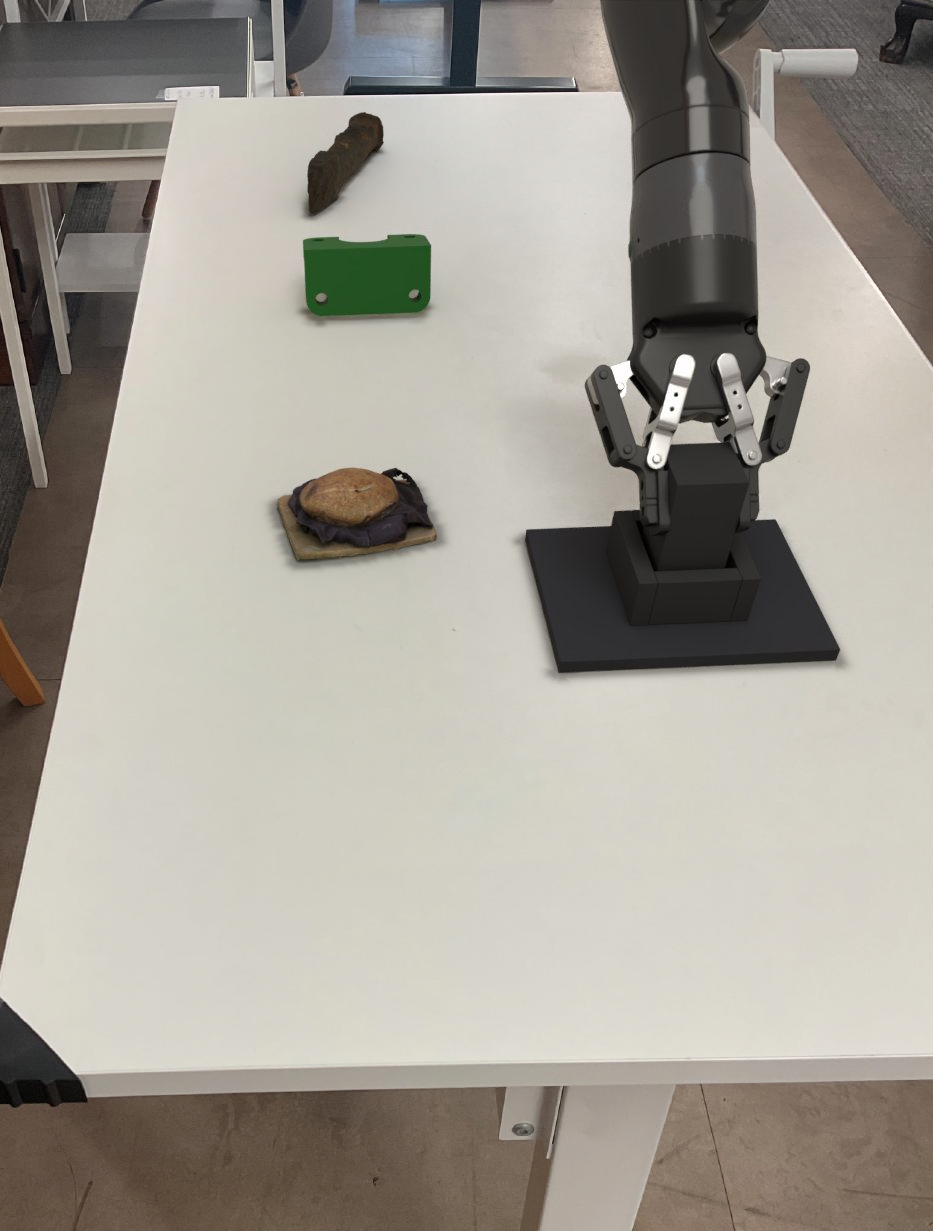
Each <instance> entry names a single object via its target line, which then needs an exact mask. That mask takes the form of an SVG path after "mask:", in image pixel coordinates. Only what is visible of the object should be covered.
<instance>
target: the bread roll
mask: <svg viewBox="0 0 933 1231" xmlns="http://www.w3.org/2000/svg"><path fill="white" fill-rule="evenodd" d="M398 477H400V478H401V479H396V478H398ZM276 508H277V509H278V510H279V514H280V518H281V520H282V524H283V525H284V528H285V530H286V535H287V537H288V540H289V543H290V546H291V548H292V550H293V553H294V557H295V558H296V560H297V561H299V560H309V559H310V560H312V559H313V560H317V559H319V560H321V559H329V558H332V559H333V558H337V557H339V559H341V558H342V557H347V556H349V557H353V556H358V554H359V555H364V556H365V555H367V554H371V553H379V552H382V551H389V550H394V551H395V552H396V551H398V550H399V549H400V548H403V547H410V546H412V545H425V543H430V542H433V541H437V538H438V534H437V530H436V528H435V525H434V524H433V522H432V520H431V518H430V516H429V514H428V504H427V503H426V502H425V499H424V497H423V494H422V492H421V489H420V488H419V486H418V484H417V483H416V481H415V480H414V478H413V477H412V476H411V475H410V474H409V473H407V472H404V471H403V470H401V469H399V468H397V467H393V468H388V469H386V470H383V471H382V472H381V473H380V472H377V471H373V470H370V469H367V468H361V467H360V468H359V467H343V468H339V469H336V470H332V471H329V472H328V473H325V474H323V475H321V476H319V477H318V478H313V479H310V480H307V481H306V482H304V483H301V485H298V486H296V487H295V488H293V489H292V492H291V494H284V495H282V496H280V497H279V498H277V502H276Z"/></svg>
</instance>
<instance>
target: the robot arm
mask: <svg viewBox="0 0 933 1231" xmlns="http://www.w3.org/2000/svg"><path fill="white" fill-rule="evenodd" d="M599 2H600V11H601V17H602V23H603V27H604V32H605V36H606V40H607V45H608V48H609V52H610V56H611V59H612V62H613V67H614V71H615V74H616V77H617V81H618V85H619V89H620V92H621V95H622V98H623V101H624V103H625V106H626V109H627V112H628V116H629V119H630V142H631V143H630V149H631V150H630V154H631V185H632V186H631V187H632V188H631V195H632V196H631V206H630V213H629V229H628V230H629V242H628V244H627V245H628V246H627V248H628V249H627V252H628V253H627V256H628V259H629V262H630V263H629V265H630V266H629V267H630V295H631V296H630V298H631V300H630V301H631V330H632V347H631V350H630V353H629V354H628V357H627V358H626V361H623V362H620V363H618V364H614V365H612V366H609V365H607V364H600V365H597V366H596V368H595V369H594V370H593V371H592V372H591V373H590V375H589V376H588V377H587V378H586V380H585V382H584V390H585V393H586V396H587V401H589V405H590V408H591V412H592V415H593V418H594V421H595V425H596V428H597V431H598V433H599V436H600V439H601V442H602V446H603V448H604V453H605V455H606V459H607V461H608V464H609V465H610V466H611V467H613V468H616V469H617V468H623V469H626V470H629V471H631V472H633V473H634V474H635V475H636V476H637V479H638V495H639V496H638V503H639V504H638V505H639V510H640V520H641V523H642V525H643V527H649V532H650V535H651V536H662V535H664V534H666V533H668V532H669V531H670V526H671V521H670V503H669V471H664V465H665V463H666V460H667V456H668V453H669V449H670V445H671V444H672V442H673V438H674V435H675V433H676V431H677V429H678V426H679V425H680V424H683V423H687V422H690V421H694V422H698V423H703V424H711V426H712V429H713V432H714V436H715V439H717V441H718V442H719V443H722V442H730V443H731V445H732V447H733V449H734V451H735V453H736V455H737V457H738V459H739V461H740V463H741V466H742V468H743V470H744V472H745V474H746V476H747V478H748V480H749V482H750V483H749V486H748V490H747V493H746V497H745V500H744V503H743V507H742V510H741V514H740V517H739V520H738V524H737V527H736V531H735V533H741V532H744V531H746V530H748V529H749V528H750V525H751V521H754V520H758V516H759V513H760V478H759V476H760V475H759V474H760V473H759V470H760V468H761V466H762V465H763V464H765V463H769V462H772V461H773V460H775V459H776V458H778V457H779V456H782V455H784V454H786V453H787V452H788V451H789V449H790V448H791V444H792V440H793V438H794V433H795V428H796V425H797V422H798V418H799V414H800V411H801V407H802V402H803V398H804V396H805V391H806V387H807V384H808V378H809V375H810V372H811V365H810V363H809V361H808V360H807V359H806V358H801V357H800V358H796V359H794V360H793V361H788V360H785V359H780V358H776V357H772V356H768V355H767V352H766V349H765V346H764V345H763V343H762V342H761V339H760V335H759V283H758V282H759V280H758V245H757V244H758V243H757V242H758V241H757V240H758V239H757V209H756V208H757V207H756V198H755V192H754V186H753V180H752V172H751V133H750V132H751V130H750V128H751V127H750V103H749V96H748V90H747V85H746V83H745V81H744V79H743V78H742V76H741V75H740V73H739V72H738V71H737V70H736V68H734V67H733V66H732V65H731V64H730V63H729V62H727V61H726V60H725V59H724V57H722V56H721V55H720V54H722V53H724V52H726V51H728V50H730V49H731V48H732V47H733V46H735V45H736V44H738V43H739V42H740V41H741V40H742V39H743V38H745V36H747V34H748V33H749V32H751V30H752V29H753V28H754V27H755V26H756V24H757V23H758V22H759V21H760V19H761V18H762V17H763V15H764V14H765V12H766V10H767V8H768V7H769V5H770V3H771V2H772V0H599ZM759 377H761V378H762V380H763V383H764V384H763V390H764V393H765V395H766V396H767V397H769V402H768V406H767V408H766V413H765V416H764V421H763V423H762V424H763V425H762V428H761V432H760V436H759V440H758V436H757V434H756V431H755V428H754V424H755V417H754V414H753V411H752V408H751V405H750V401H749V398H748V395H747V394H748V392H749V391H750V389H751V388H752V386H753V385H754V383H755V382H756V381H757V379H758V378H759ZM628 381H630V382H631V384H632V385H633V386H634V387H635V389H636V390H637V392H638V393H639V394H640V395H641V396H642V398H643V399H644V400H645V402H646V403H647V404H648V406H649V407H650V408H649V411H648V415H647V419H646V422H645V426H644V429H643V432H642V433H643V434H642V438H643V439H642V443H641V445H639V444H637V443H636V440H635V436H634V433H633V430H632V427H631V423H630V420H629V418H628V415H627V411H626V408H625V406H624V401H623V399H624V398H625V397H626V395H627V393H628Z"/></svg>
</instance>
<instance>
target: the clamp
mask: <svg viewBox="0 0 933 1231" xmlns="http://www.w3.org/2000/svg"><path fill="white" fill-rule="evenodd" d="M386 237H387V238H386V239H382V240H375V241H374V240H373V241H348V240H342V239H340V236H322V237H321V236H320V237H318V236H317V237H309V238H304V239H302V253H303V254H302V256H303V265H304V266H303V268H304V269H303V270H304V292H305V302H306V303H305V304H306V306H307V309H308V310H309V312H310V313H311V314H313V315H314V316H316V317H343V316H344V317H345V316H367V315H370V316H371V315H394V314H398V315H399V314H417V313H420V312H422V311H424V310H425V309H427V307H428V305H429V304H430V301H431V293H432V292H431V290H432V289H431V286H432V244H431V243H430V241H429V239H428V238H427V237H426V235H425V234H419V233H403V234H402V233H401V234H399V233H398V234H387V236H386ZM412 291H417V295H416V296H414V297H410V293H411V292H412ZM321 294H324V295H325V296H326V298H325V299H324V300H322V301H321V300H318V299H317V297H318V296H319V295H321Z"/></svg>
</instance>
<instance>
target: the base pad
mask: <svg viewBox="0 0 933 1231" xmlns="http://www.w3.org/2000/svg"><path fill="white" fill-rule="evenodd" d="M642 531H643V525H642V523H641V520H640V509H627V510H613V514H612V520H611V525H602V526H601V525H600V526H575V527H552V528H551V527H550V528H527V529H526V530H525V537H524V543H525V546H526V551H527V555H528V558H529V562H530V567H531V569H532V574H533V577H534V581H535V585H536V590H537V593H538V597H539V601H540V605H541V609H542V613H543V617H544V621H545V625H546V628H547V632H548V636H549V637H548V638H549V641H550V644H551V648H552V652H553V656H554V660H555V665H556V667H557V672H558V673H559V674H562V673H563V674H565V673H588V672H589V673H590V672H610V671H611V672H612V671H614V672H615V671H633V670H635V671H636V670H654V669H658V670H659V669H678V668H680V669H681V668H701V667H703V668H704V667H723V666H748V665H768V664H769V665H770V664H772V665H773V664H791V663H793V664H794V663H812V662H813V663H815V662H816V663H817V662H833V661H834V662H835V661H837V660H838V656H839V654H840V652H841V647H840V646H839V643H838V641H837V640H836V638H835V636H834V634H833V632H832V629H831V628H830V625H829V623H828V622H827V620H826V617H825V615H824V613H823V612H822V609H821V608H820V607H821V606H820V605H819V603H818V601H817V599H816V598H815V595H814V594H813V591H812V589H811V587H810V585H809V583H808V581H807V579H806V577H805V575H804V573H803V571H802V569H801V568H800V565H799V563H798V562H797V559H796V557H795V556H794V554H793V551H792V549H791V547H790V545H789V543H788V541H787V539H786V537H785V535H784V533H783V531H782V529H781V527H780V525H779V523H778V521H777V519H775V518H774V519H773V518H770V519H756V520H754V521H751V525H750V528H749V529H748V530H746V531H744V532H741V533H735V535H734V538H733V542H732V545H731V548H730V552H729V555H728V559H727V562H726V566H725V569H703V570H679V571H656V572H654V571H653V568H652V566H651V563H650V560H649V557H648V555H647V552H646V549H645V546H644V544H643V541H642V538H641V535H642Z"/></svg>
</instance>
